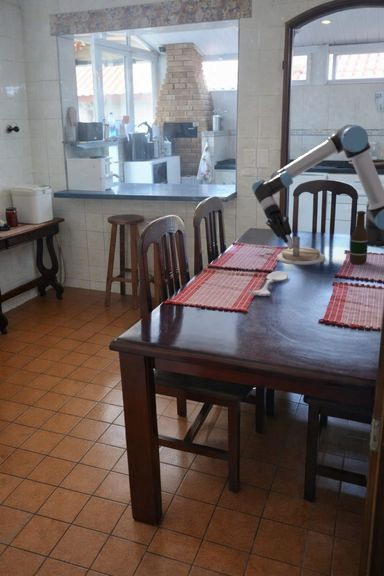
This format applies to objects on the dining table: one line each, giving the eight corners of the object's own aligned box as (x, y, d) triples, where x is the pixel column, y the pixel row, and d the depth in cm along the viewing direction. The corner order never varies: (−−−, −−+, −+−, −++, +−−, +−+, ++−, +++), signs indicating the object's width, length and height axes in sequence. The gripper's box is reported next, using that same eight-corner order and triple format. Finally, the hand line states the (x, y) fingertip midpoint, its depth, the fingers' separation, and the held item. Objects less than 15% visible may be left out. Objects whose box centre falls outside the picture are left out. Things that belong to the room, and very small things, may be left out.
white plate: (297, 249, 266) (297, 247, 266) (334, 257, 249) (334, 255, 249) (267, 258, 253) (267, 256, 252) (304, 267, 236) (304, 265, 235)
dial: (288, 249, 262) (289, 228, 259) (324, 253, 254) (324, 231, 250) (276, 258, 247) (277, 236, 244) (313, 262, 239) (314, 239, 235)
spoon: (246, 299, 200) (246, 290, 199) (270, 275, 228) (270, 268, 226) (269, 301, 197) (269, 293, 195) (290, 277, 224) (291, 269, 223)
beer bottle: (364, 260, 244) (368, 209, 236) (368, 264, 237) (372, 212, 229) (347, 260, 245) (350, 210, 237) (350, 264, 237) (354, 213, 230)
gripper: (277, 211, 259) (298, 250, 251) (256, 214, 253) (277, 254, 245) (284, 202, 253) (306, 241, 245) (263, 204, 247) (284, 245, 239)
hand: (291, 247), depth 245 cm, fingers closed
